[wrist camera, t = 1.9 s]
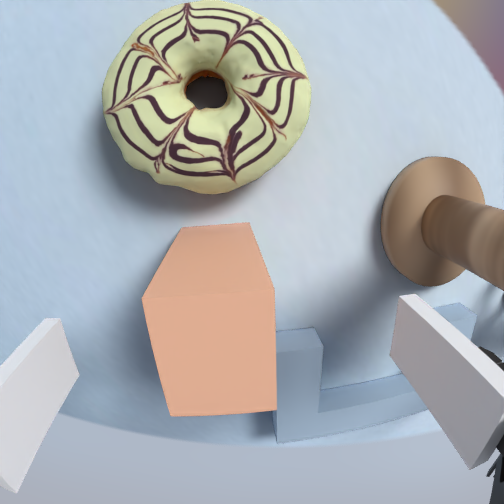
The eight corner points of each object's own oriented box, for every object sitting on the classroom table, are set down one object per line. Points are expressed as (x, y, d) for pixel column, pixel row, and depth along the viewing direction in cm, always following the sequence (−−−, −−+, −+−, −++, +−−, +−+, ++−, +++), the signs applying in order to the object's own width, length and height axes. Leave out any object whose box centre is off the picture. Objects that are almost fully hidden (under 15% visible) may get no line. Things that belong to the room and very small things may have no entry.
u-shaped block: (272, 421, 24) (277, 443, 21) (270, 332, 21) (275, 352, 19) (437, 386, 25) (449, 401, 22) (459, 302, 22) (477, 315, 20)
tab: (191, 304, 20) (170, 416, 11) (181, 227, 19) (141, 298, 9) (253, 299, 21) (277, 410, 11) (249, 222, 19) (274, 289, 10)
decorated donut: (235, 220, 19) (237, 235, 16) (89, 132, 17) (61, 128, 13) (330, 81, 17) (353, 67, 14) (184, -4, 15) (177, -33, 11)
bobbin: (376, 287, 21) (489, 398, 9) (381, 153, 18) (541, 167, 7) (469, 273, 22) (579, 345, 10) (478, 161, 19) (612, 185, 7)
